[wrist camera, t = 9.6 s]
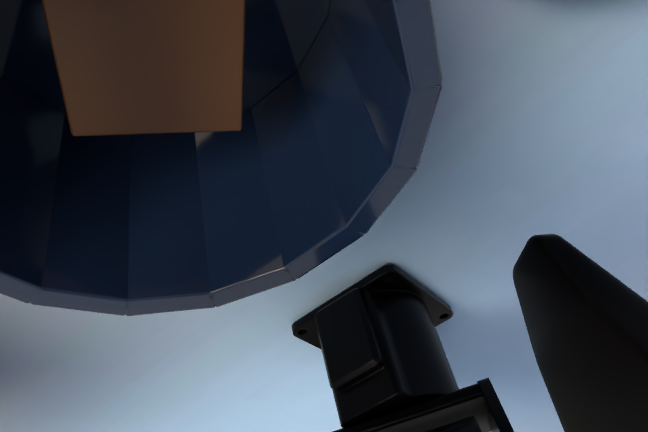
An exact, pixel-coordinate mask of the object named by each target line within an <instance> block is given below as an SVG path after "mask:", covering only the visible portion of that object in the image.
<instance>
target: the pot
mask: <svg viewBox="0 0 648 432" xmlns="http://www.w3.org/2000/svg"><path fill="white" fill-rule="evenodd" d="M441 83H442V74H441V68H440V61H439V55H438V48H437V42H436V35H435V29H434V22H433V16H432V9H431V3H430V0H246V13H245V50H244V87H243V124H242V130H241V131H223V132H193V133H164V134H134V135H105V136H73V135H72V134H71V130H70V125H69V121H68V117H67V112H66V108H65V103H64V99H63V94H62V90H61V85H60V81H59V77H58V72H57V68H56V63H55V59H54V54H53V50H52V45H51V41H50V37H49V32H48V28H47V23H46V19H45V14H44V10H43V5H42V1H41V0H0V293H1V294H4V295H6V296H9V297H12V298H14V299H17V300H20V301H22V302H25V303H31V304H34V305H42V306H50V307H58V308H66V309H74V310H82V311H90V312H98V313H106V314H114V315H122V316H123V315H126V316H133V315H143V314H154V313H164V312H174V311H184V310H194V309H204V308H214V307H215V306H216V307H219V306H221V305H224V304H227V303H230V302H233V301H236V300H239V299H242V298H245V297H248V296H251V295H254V294H257V293H260V292H263V291H266V290H269V289H271V288H274V287H277V286H280V285H283V284H286V283H289V282H292V281H295V280H296V279H298V278H300V277H301V276H303V275H304V274H306V273H307V272H309V271H310V270H312V269H313V268H315V267H316V266H318V265H319V264H321V263H322V262H324V261H325V260H327V259H328V258H330V257H332V256H333V255H335V254H336V253H338V252H339V251H341V250H342V249H344V248H345V247H347V246H348V245H350V244H351V243H353V242H354V241H356V240H357V239H359V238H360V237H362V236H363V235H364V233H367V232H368V231H369V229H370V228H371V227H372V226H373V224H374V223H375V222H376V221H377V219H378V218H379V217H380V216H381V214H382V213H383V212H384V211H385V209H386V208H387V207H388V206H389V204H390V203H391V202H392V200H393V199H394V198H395V197H396V195H397V194H398V193H399V192H400V190H401V189H402V188H403V187H404V185H405V184H406V183H407V182H408V180H409V179H410V178H411V177H412V175H413V174H414V173H415V172H416V170H417V167H418V164H419V161H420V157H421V154H422V151H423V148H424V144H425V141H426V138H427V134H428V131H429V128H430V124H431V121H432V118H433V114H434V111H435V108H436V104H437V101H438V98H439V94H440V91H441V88H442V85H441Z"/></svg>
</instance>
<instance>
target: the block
mask: <svg viewBox="0 0 648 432" xmlns="http://www.w3.org/2000/svg"><path fill="white" fill-rule="evenodd" d="M41 1H42V5H43V10H44V14H45V19H46V23H47V28H48V32H49V37H50V41H51V45H52V50H53V54H54V59H55V63H56V68H57V72H58V77H59V81H60V85H61V90H62V94H63V99H64V103H65V108H66V112H67V117H68V121H69V125H70V130H71V134H72V135H73V136H105V135H134V134H164V133H193V132H223V131H241V130H242V124H243V87H244V50H245V13H246V0H41Z"/></svg>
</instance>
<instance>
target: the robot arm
mask: <svg viewBox="0 0 648 432" xmlns="http://www.w3.org/2000/svg"><path fill="white" fill-rule="evenodd" d="M513 280H514V284H515V288H516V291H517V295H518V298H519V302H520V305H521V309H522V313H523V316H524V320H525V323H526V327H527V330H528V334H529V337H530V341H531V344H532V348H533V351H534V354H535V357H536V361H537V364H538V366H539V369H540V372H541V374H542V377H543V379H544V382H545V384H546V387H547V389H548V392H549V394H550V397H551V399H552V402H553V404H554V407H555V409H556V412H557V414H558V417H559V419H560V421H561V424H562V426H563V429H564V431H565V432H648V302H647V301H646V300H645V299H643V298H642V297H641V296H639V295H638V294H637V293H635V292H634V291H633V290H631V289H630V288H629V287H627V286H626V285H625V284H623V283H622V282H621V281H619V280H618V279H617V278H615V277H614V276H613V275H611V274H610V273H609V272H607V271H606V270H605V269H603V268H602V267H601V266H599V265H598V264H597V263H595V262H594V261H593V260H591V259H590V258H589V257H587V256H586V255H584V254H583V253H582V252H580V251H579V250H578V249H576V248H575V247H574V246H572V245H571V244H570V243H568V242H567V241H566V240H564V239H563V238H562V237H560V236H558V235H555V234H545V235H535V236H532V237H531V238H530V239H529V240H528V241H527V243H526V245H525V247H524V249H523V251H522V252H521V254H520V256H519V258H518V260H517V262H516V264H515V266H514V269H513ZM452 315H453V312H452V310H451V308H450V306H449V305H448V304H446V303H445V302H444V301H442V300H441V299H440V298H438V297H437V296H436V295H434V294H433V293H432V292H430V291H429V290H427V289H426V288H425V287H423V286H422V285H421V284H419V283H418V282H417V281H415V280H414V279H413V278H411V277H410V276H409V275H407V274H406V273H404V272H403V271H402V270H400V269H399V268H398V267H396V266H395V265H385V266H383V267H381V268H380V269H378V270H376V271H375V272H373V273H372V274H370V275H369V276H367V277H365V278H364V279H362V280H361V281H359V282H358V283H356V284H354V285H353V286H351V287H350V288H348V289H346V290H345V291H343V292H342V293H340V294H339V295H337V296H335V297H334V298H332V299H331V300H329V301H328V302H326V303H324V304H323V305H321V306H320V307H318V308H317V309H315V310H313V311H312V312H310V313H309V314H307V315H305V316H304V317H302V318H301V319H299V320H298V321H296V322H295V323H293V325H292V330H293V335H294V336H295V337H297V338H299V339H301V340H304V341H306V342H308V343H310V344H312V345H314V346H316V347H318V348H320V349H322V353H323V357H324V361H325V366H326V370H327V374H328V379H329V383H330V386H331V388H332V389H333V394H334V398H335V402H336V407H337V411H338V415H339V419H340V424H341V427H343V428H342V429H339V430H336V431H333V432H490V431H491V432H514V431H513V428H512V426H511V424H510V422H509V420H508V418H507V416H506V414H505V412H504V409H503V407H502V405H501V403H500V401H499V399H498V397H497V395H496V393H495V390H494V388H493V386H492V384H491V382H490V380H489V378H486V379H483V380H480V381H477V384H474V385H471V386H468V387H465V388H462V389H459V388H458V385H457V383H456V380H455V378H454V375H453V372H452V370H451V367H450V365H449V362H448V359H447V357H446V354H445V352H444V349H443V346H442V344H441V341H440V339H439V336H438V334H437V331H436V328H435V327H436V326H437V325H439V324H441V323H443V322H444V321H446V320H448V319H449V318H451V317H452Z"/></svg>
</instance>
